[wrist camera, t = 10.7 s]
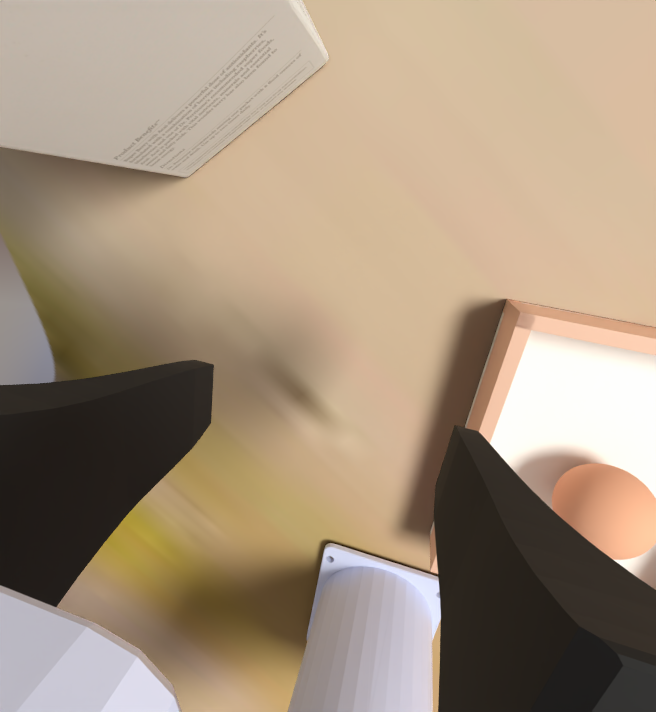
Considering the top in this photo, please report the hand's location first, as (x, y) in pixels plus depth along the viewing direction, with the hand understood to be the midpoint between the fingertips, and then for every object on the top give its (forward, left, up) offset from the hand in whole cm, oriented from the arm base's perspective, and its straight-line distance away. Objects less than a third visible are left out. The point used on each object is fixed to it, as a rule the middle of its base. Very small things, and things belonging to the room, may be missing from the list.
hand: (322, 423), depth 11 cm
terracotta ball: (-5, -12, -7) cm, 15 cm away
